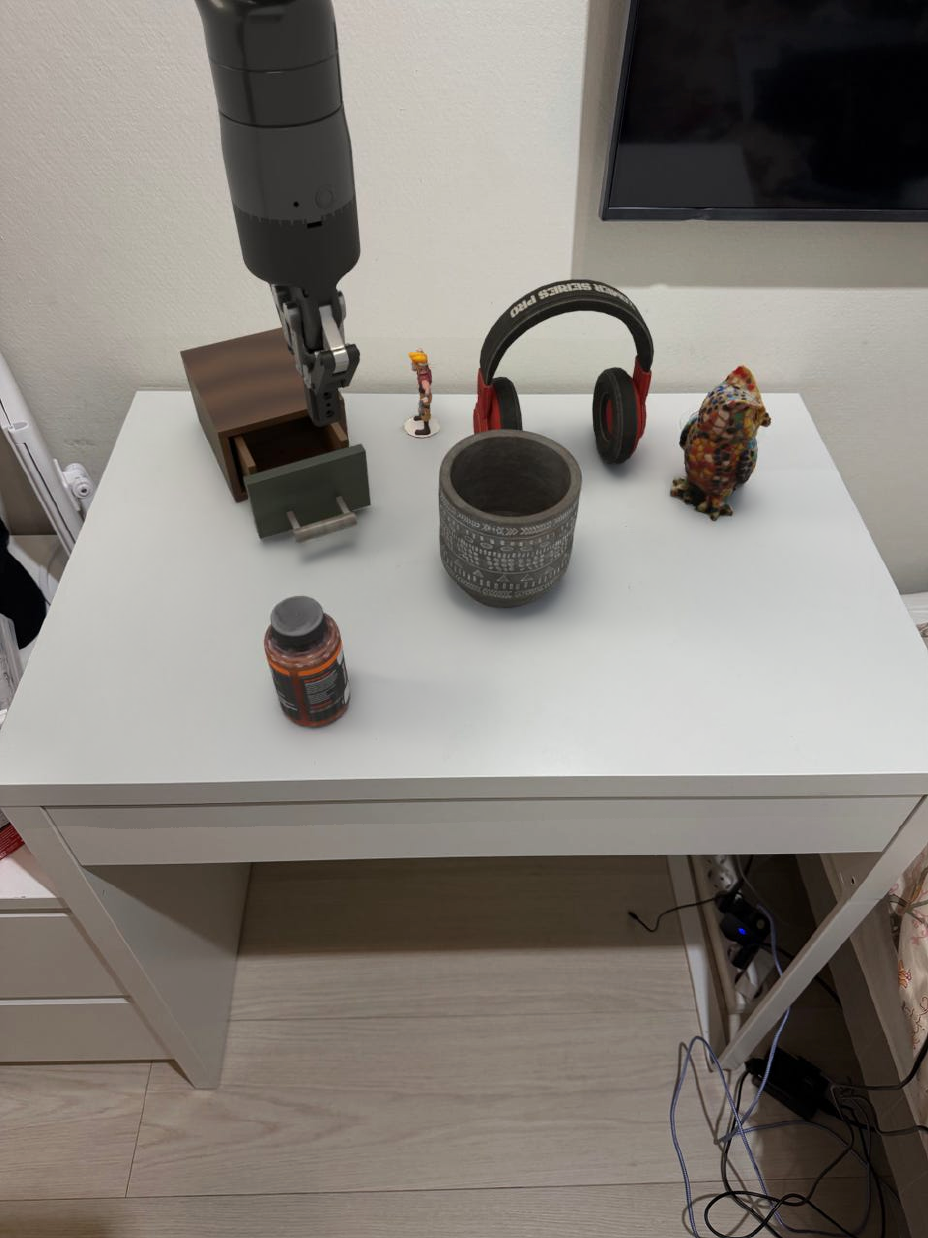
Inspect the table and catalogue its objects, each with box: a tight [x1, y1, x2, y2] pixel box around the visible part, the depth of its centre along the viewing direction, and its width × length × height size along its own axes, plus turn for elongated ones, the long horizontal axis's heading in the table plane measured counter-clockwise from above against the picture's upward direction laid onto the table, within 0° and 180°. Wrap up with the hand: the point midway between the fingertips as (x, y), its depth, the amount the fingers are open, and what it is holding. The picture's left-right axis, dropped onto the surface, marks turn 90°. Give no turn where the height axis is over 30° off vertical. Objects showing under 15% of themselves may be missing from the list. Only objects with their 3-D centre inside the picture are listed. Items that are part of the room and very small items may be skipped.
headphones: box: [472, 278, 655, 465], centre depth 84 cm, size 18×10×20 cm, turn 99°
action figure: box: [403, 347, 440, 438], centre depth 91 cm, size 12×3×9 cm, turn 5°
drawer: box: [228, 416, 372, 544], centre depth 84 cm, size 18×12×7 cm, turn 26°
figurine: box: [669, 364, 772, 522], centre depth 83 cm, size 9×9×15 cm
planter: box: [437, 429, 583, 609], centre depth 76 cm, size 12×12×13 cm
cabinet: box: [179, 326, 350, 503], centre depth 90 cm, size 15×13×9 cm
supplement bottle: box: [263, 595, 351, 728], centre depth 67 cm, size 6×6×11 cm
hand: (325, 418), depth 64 cm, fingers closed
